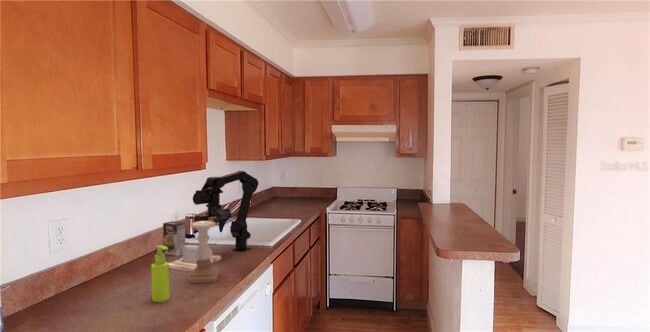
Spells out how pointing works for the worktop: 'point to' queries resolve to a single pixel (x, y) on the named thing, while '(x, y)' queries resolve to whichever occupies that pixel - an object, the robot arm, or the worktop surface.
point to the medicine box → (189, 254)
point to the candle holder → (203, 256)
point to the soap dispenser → (160, 276)
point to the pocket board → (189, 264)
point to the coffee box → (174, 237)
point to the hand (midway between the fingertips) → (213, 233)
